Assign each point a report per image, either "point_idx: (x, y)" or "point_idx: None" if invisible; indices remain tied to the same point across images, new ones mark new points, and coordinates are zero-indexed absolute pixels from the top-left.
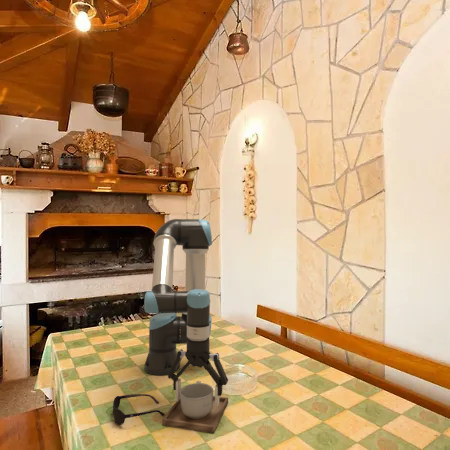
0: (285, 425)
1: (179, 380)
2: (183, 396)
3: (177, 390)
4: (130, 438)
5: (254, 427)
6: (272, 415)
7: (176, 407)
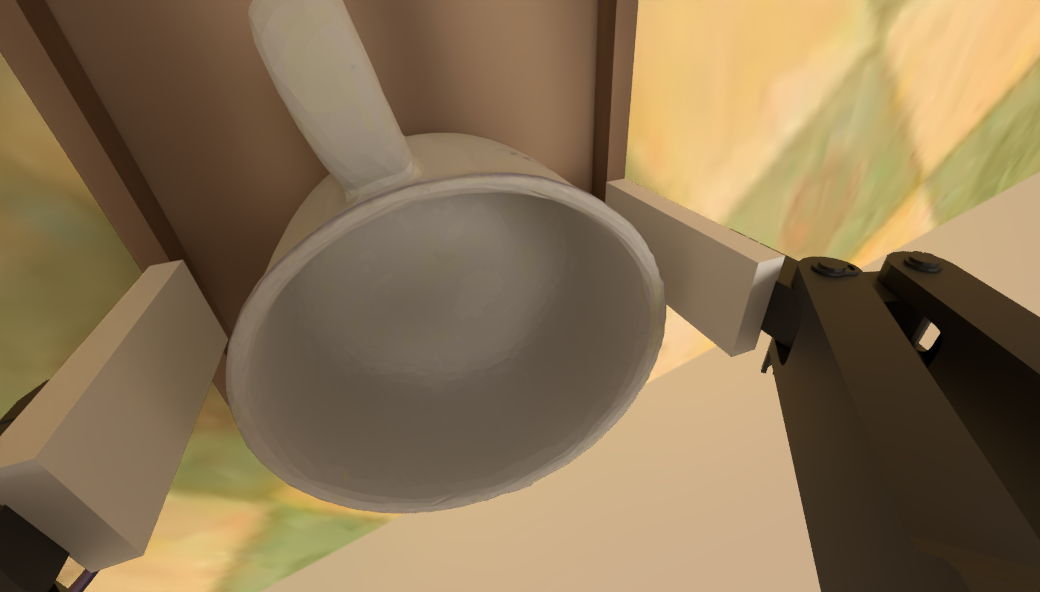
0: (918, 116)
1: (99, 511)
2: (400, 511)
3: (183, 434)
4: (211, 576)
5: (776, 204)
6: (900, 20)
7: (184, 251)
